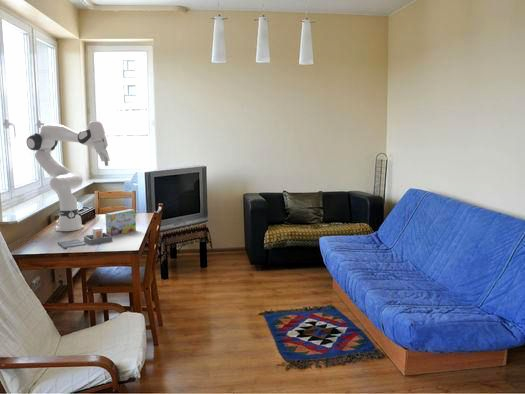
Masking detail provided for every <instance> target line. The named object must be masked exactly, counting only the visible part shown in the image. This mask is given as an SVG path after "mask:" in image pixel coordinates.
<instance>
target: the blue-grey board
mask: <svg viewBox="0 0 525 394" xmlns="http://www.w3.org/2000/svg"><path fill="white" fill-rule="evenodd" d="M57 245H59V246H60V247H61V248H62V249H64V250H67V249H68V248H69V249H70V248H74V247H75V248H77V247H79V246H80V247H81V246H86V242H83V241H82V240H81V239H78V238H77V239H73V240H72V239H71V240H64V241H59V242H58V243H57Z"/></svg>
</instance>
